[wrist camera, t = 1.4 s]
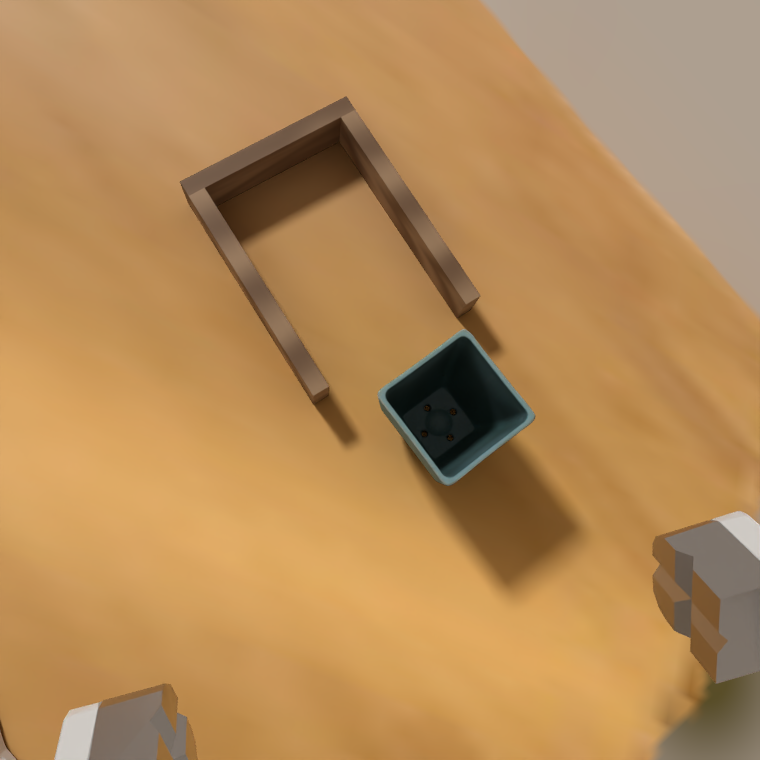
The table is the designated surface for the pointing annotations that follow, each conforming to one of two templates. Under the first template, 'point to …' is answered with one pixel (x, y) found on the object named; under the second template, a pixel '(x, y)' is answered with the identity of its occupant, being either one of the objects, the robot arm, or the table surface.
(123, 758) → the robot arm
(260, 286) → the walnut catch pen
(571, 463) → the table surface
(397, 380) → the flower pot
